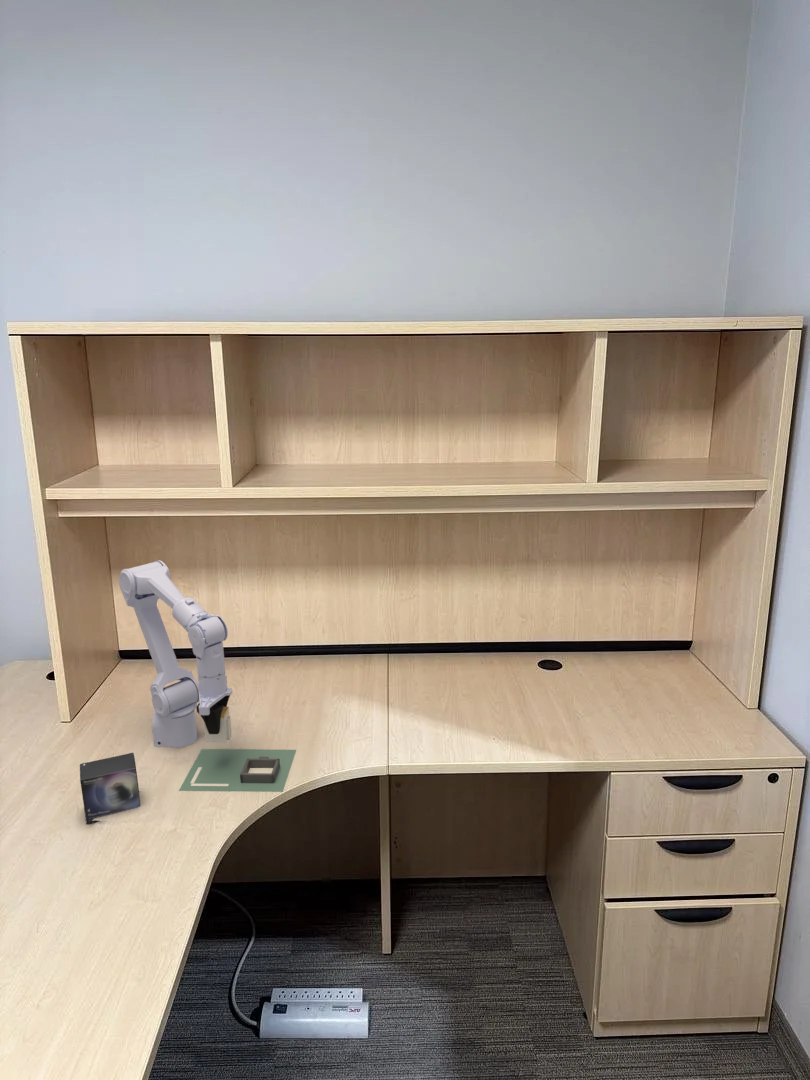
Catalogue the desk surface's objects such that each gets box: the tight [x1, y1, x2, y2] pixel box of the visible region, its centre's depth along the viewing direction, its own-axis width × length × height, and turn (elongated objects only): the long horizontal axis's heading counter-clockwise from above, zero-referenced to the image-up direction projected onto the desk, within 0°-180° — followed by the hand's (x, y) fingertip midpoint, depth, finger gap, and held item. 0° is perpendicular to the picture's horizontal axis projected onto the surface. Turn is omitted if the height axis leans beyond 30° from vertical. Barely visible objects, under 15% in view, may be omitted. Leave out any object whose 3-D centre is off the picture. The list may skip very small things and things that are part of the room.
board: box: [178, 748, 297, 793], centre depth 162 cm, size 22×16×3 cm
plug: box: [203, 706, 232, 744], centre depth 162 cm, size 5×4×7 cm
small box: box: [79, 752, 141, 825], centre depth 150 cm, size 11×6×10 cm, turn 114°
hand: (216, 728), depth 162 cm, fingers closed on plug, 3 cm apart
